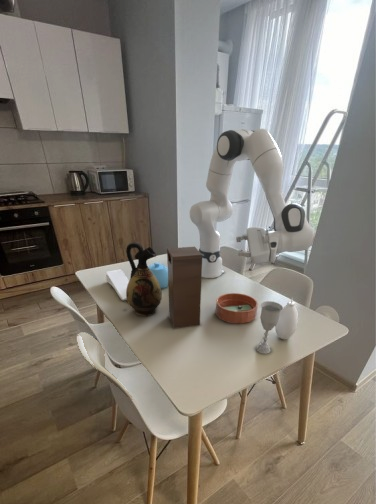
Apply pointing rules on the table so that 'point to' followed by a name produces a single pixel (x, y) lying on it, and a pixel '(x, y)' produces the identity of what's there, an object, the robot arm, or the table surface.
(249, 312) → the bowl
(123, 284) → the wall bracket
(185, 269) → the stand
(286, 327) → the white tall oval piece
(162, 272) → the sugar bowl
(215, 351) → the table surface
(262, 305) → the chalice
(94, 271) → the table surface
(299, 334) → the table surface
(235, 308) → the green rectangular block
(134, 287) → the ceramic jug
